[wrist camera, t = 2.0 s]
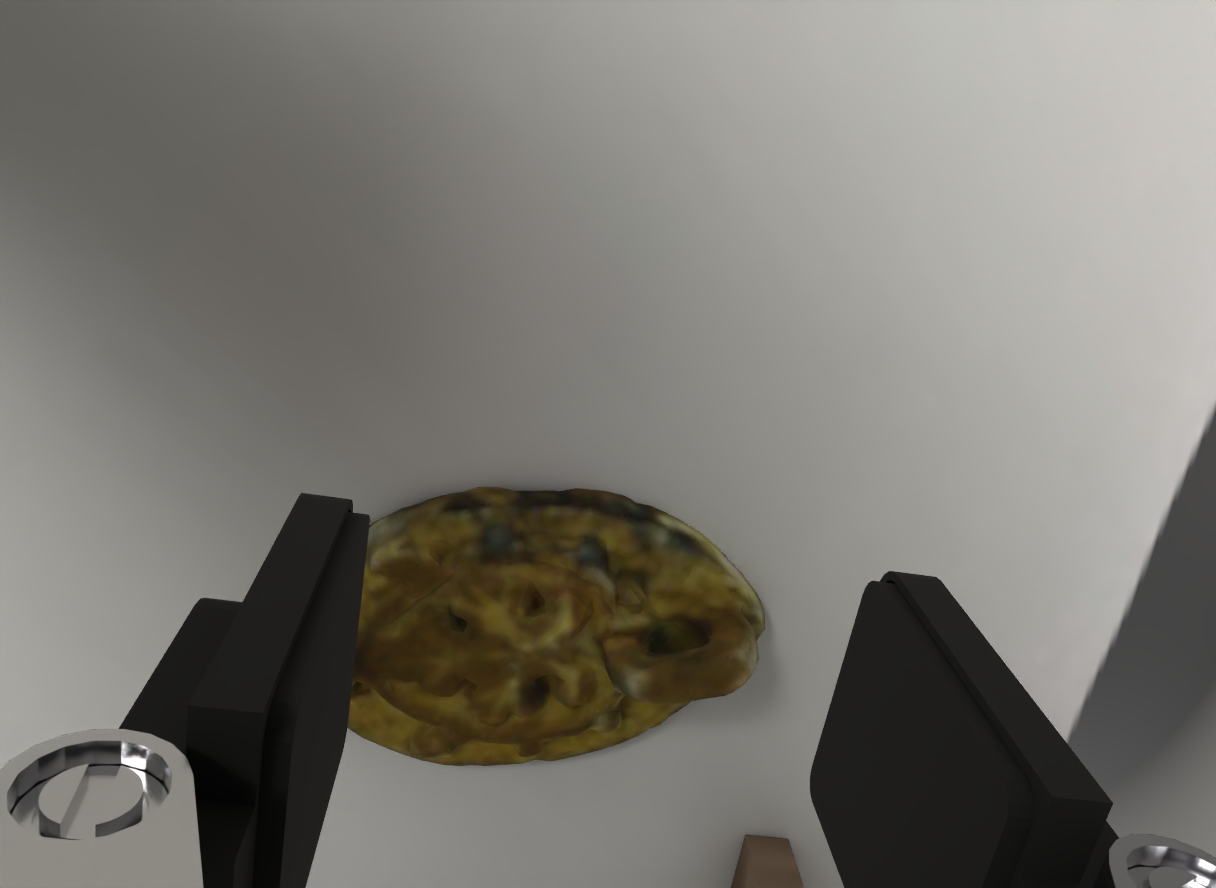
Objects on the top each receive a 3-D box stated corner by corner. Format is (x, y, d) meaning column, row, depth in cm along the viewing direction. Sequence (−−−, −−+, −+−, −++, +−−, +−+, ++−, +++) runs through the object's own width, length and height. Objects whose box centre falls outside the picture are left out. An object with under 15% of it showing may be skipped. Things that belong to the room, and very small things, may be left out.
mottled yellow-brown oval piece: (315, 752, 34) (761, 692, 34) (285, 869, 30) (794, 800, 30) (236, 514, 30) (747, 446, 30) (188, 612, 26) (783, 533, 26)
